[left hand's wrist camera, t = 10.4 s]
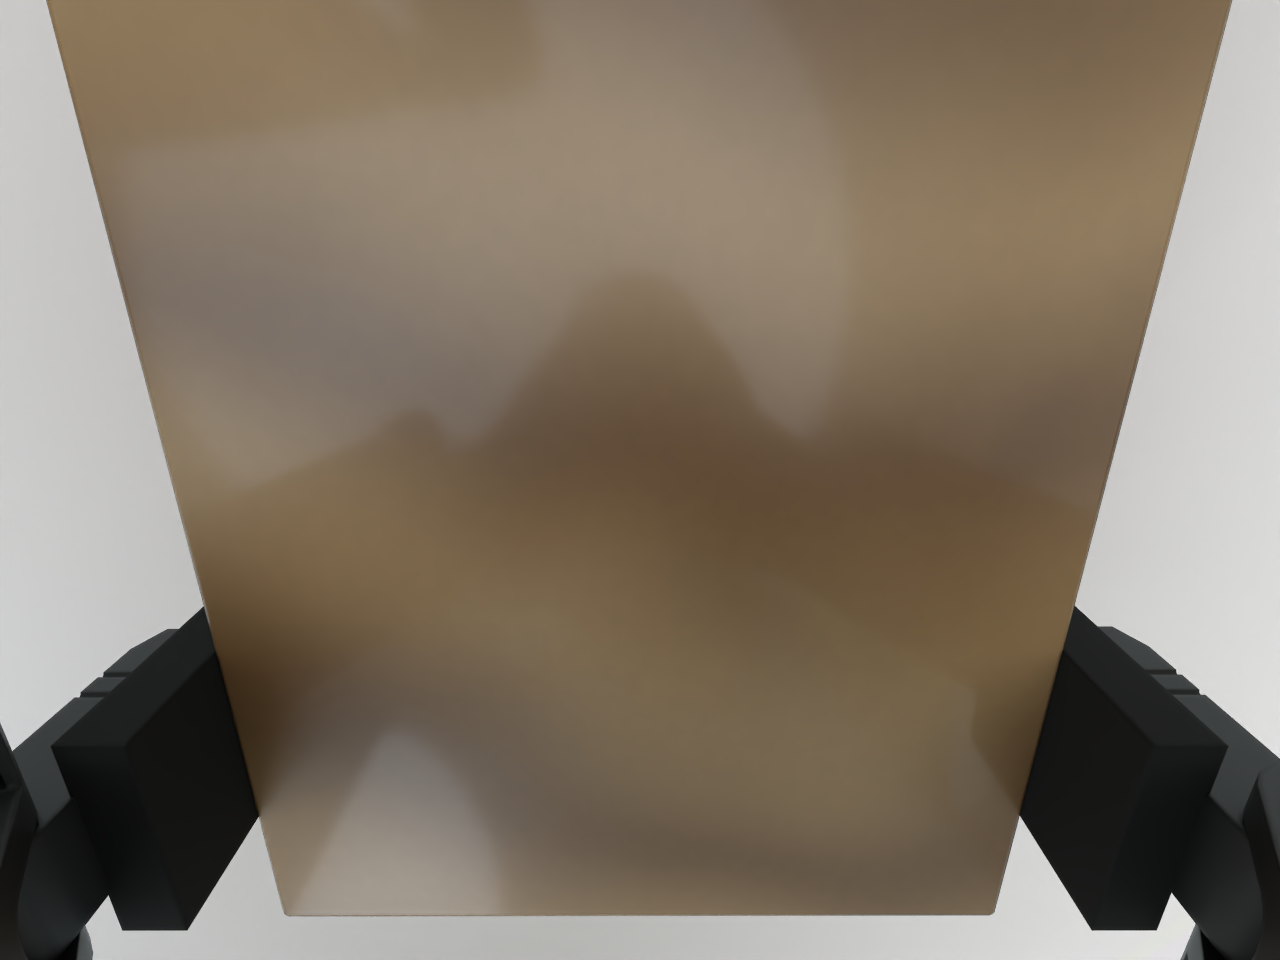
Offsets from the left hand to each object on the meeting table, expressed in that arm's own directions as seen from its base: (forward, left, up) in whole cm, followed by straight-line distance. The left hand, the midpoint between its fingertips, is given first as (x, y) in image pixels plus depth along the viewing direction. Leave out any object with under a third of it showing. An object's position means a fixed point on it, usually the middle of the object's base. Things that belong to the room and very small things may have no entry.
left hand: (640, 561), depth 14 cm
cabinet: (+3, -4, -3) cm, 6 cm away
